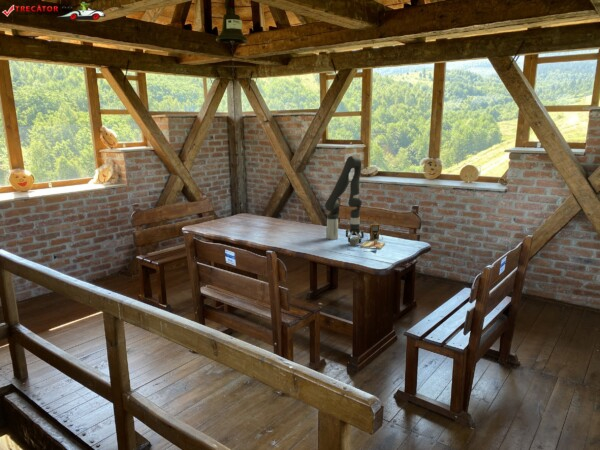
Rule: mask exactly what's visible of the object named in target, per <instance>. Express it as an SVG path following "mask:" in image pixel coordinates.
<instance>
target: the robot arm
mask: <svg viewBox="0 0 600 450" xmlns="http://www.w3.org/2000/svg"><path fill="white" fill-rule="evenodd" d="M352 169H353V170H354V171H353V177H352V179H351V181H350V175H349V174H350V172H351V171H352ZM361 171H362V158H361V157H359V156H356V155H355V156H354V155H352V156H351V155H349V156H348V157H347V158H346V161H345V162H344V166H343V168H342V171H341V172H340V175H339V178H338V179H337V181H336V183H335V185H334V188H333V189H332V192H331V194H330V195H329V196H328V198H327V200H326V201H325V205H324V206H325V210H326V211H328V212H329V213H328V214H327V215H326V226H327V227H326V229H325V232H326V233H325V235H326V236H325V239H328V240H338V238H339V216H340V208H341V207H340V202H339V200H338V199H339V198H340V197H341V196H342V195H343V194H344V193H345V191H346V190H347V188H348V186H349V184H350V186H349V187H350V194H349V198H348V204H347V205H348V206H349V207H351V208H354V207H355V208H354V209H351V210H350V220H349V229H346V230H345V238H347V242H348V243H349V244H350V239H351V236H352V237H359V244H361V243H362V239H364V238H365V235H364V230H361V229H360V226H361V225H360V224H361V223H360V222H361V220H360V212H361V207H362V204H363V200H362V198H360V197H354V196H357V195H360V177H361ZM349 233H350V234H349Z"/></svg>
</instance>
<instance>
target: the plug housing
mask: <svg viewBox="0 0 600 450" xmlns="http://www.w3.org/2000/svg"><path fill="white" fill-rule="evenodd" d="M359 244H360V243H359V237H358V236H352V237H350V243H349V246H350V247H357V246H358V245H359Z"/></svg>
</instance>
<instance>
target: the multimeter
mask: <svg viewBox="0 0 600 450" xmlns="http://www.w3.org/2000/svg"><path fill="white" fill-rule="evenodd" d="M371 217H372V218H373V223H370V224H369V240H368V241H369V242H371V241H375V240H376V239H379V240H380V234H381V236H383V234H382V233H380V232H382V231H381V230H382V229H381V228H380V223H377V222H376V220H377V218H376V217H379V219H381V217H380V216H379V215H377V216H373V215H372V216H370V217H368V219H367V223H366V224H368V222H369V218H371ZM381 240H384V239H383V237H381Z"/></svg>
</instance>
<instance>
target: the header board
mask: <svg viewBox="0 0 600 450" xmlns="http://www.w3.org/2000/svg"><path fill="white" fill-rule="evenodd" d="M385 246H386V242H379V241H378V240H377V239H376V240H373V241H369V240H368V241H366V240H365V241H364V242H363V243H362V244H361V245H360V248H362V247H376V248H377V249H376V250H382V249H383V248H384V247H385Z"/></svg>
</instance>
